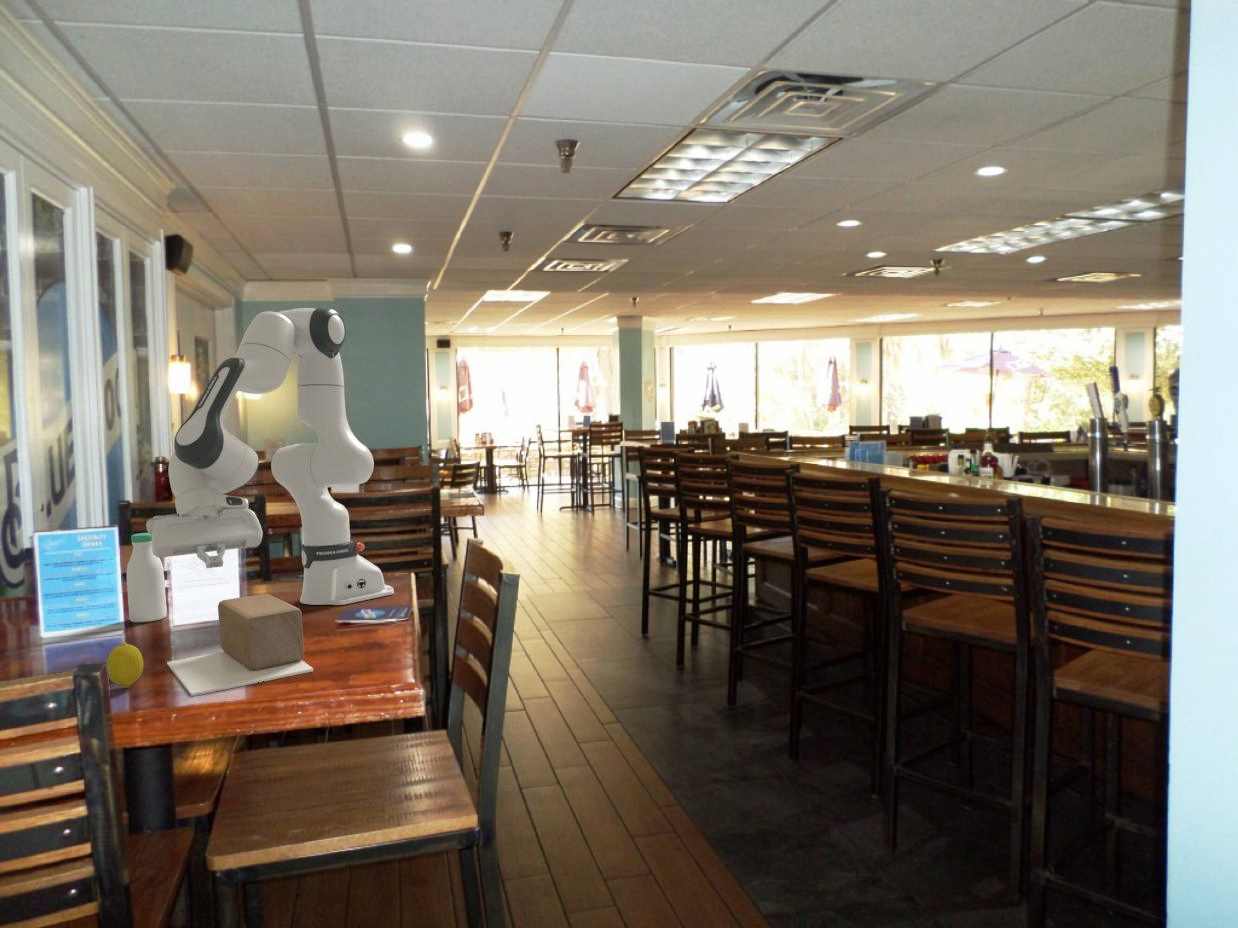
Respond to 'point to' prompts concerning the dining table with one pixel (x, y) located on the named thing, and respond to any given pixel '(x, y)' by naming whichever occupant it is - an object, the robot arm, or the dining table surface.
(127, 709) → the dining table surface
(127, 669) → the lemon
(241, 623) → the wooden block
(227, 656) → the board
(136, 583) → the milk bottle
